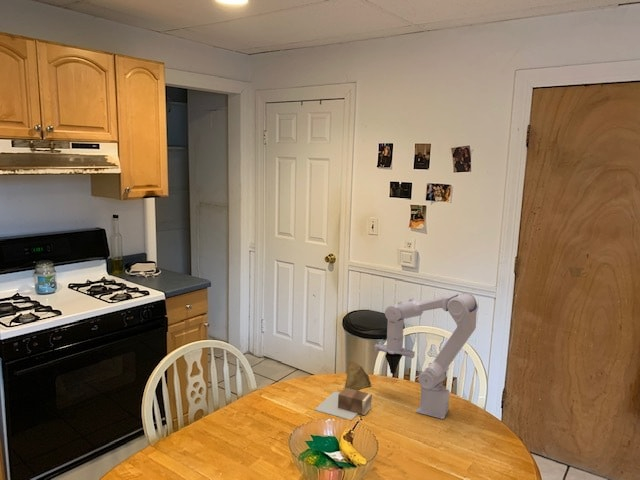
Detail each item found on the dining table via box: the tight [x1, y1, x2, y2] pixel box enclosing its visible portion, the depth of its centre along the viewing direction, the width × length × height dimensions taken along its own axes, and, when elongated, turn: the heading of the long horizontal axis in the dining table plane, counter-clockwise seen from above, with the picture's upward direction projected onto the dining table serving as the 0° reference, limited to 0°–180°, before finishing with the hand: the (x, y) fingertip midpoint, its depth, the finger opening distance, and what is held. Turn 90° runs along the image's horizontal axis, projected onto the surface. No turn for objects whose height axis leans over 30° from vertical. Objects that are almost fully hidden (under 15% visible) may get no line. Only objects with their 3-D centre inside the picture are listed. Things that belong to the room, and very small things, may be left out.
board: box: [313, 390, 358, 420], centre depth 169 cm, size 14×16×1 cm
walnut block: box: [338, 388, 373, 416], centre depth 167 cm, size 5×6×10 cm
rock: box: [344, 361, 372, 391], centre depth 183 cm, size 11×9×10 cm
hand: (393, 372), depth 175 cm, fingers closed
